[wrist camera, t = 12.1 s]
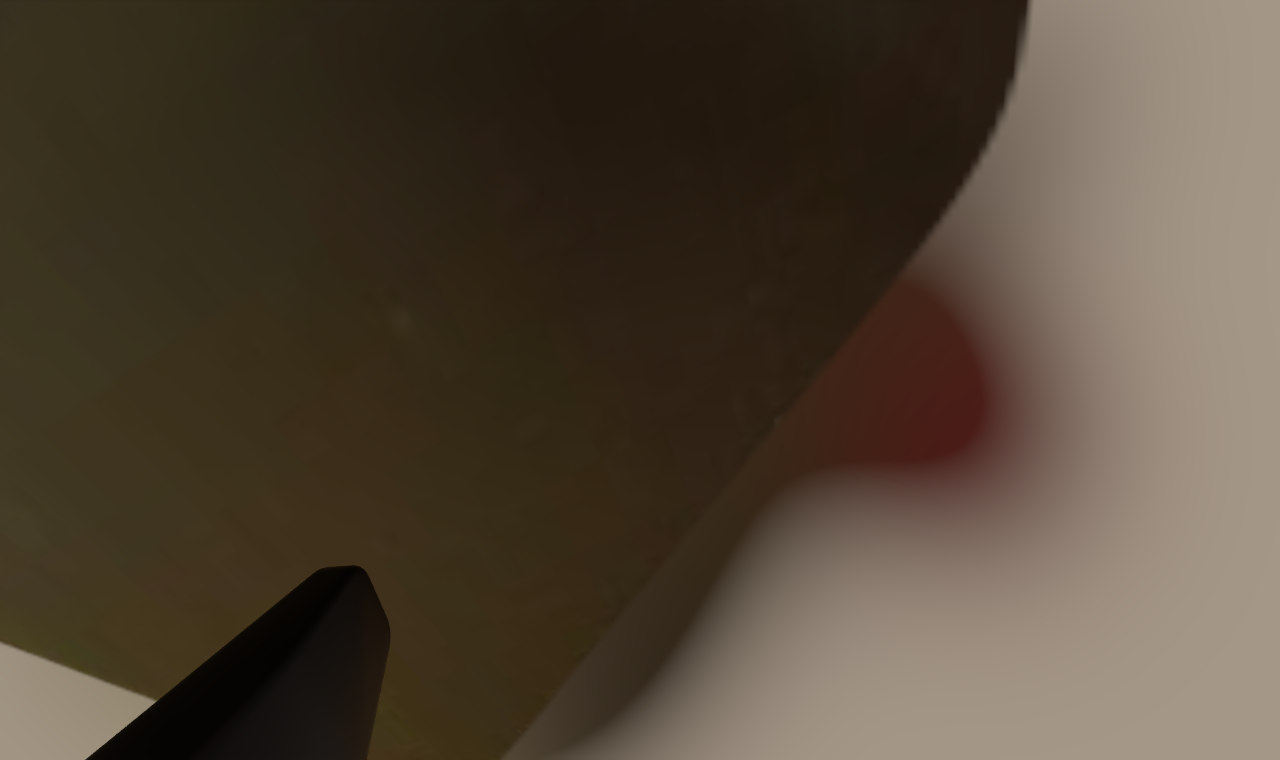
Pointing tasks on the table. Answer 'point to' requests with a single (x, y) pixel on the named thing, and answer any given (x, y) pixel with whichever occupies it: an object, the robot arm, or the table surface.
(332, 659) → the robot arm
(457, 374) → the table surface
